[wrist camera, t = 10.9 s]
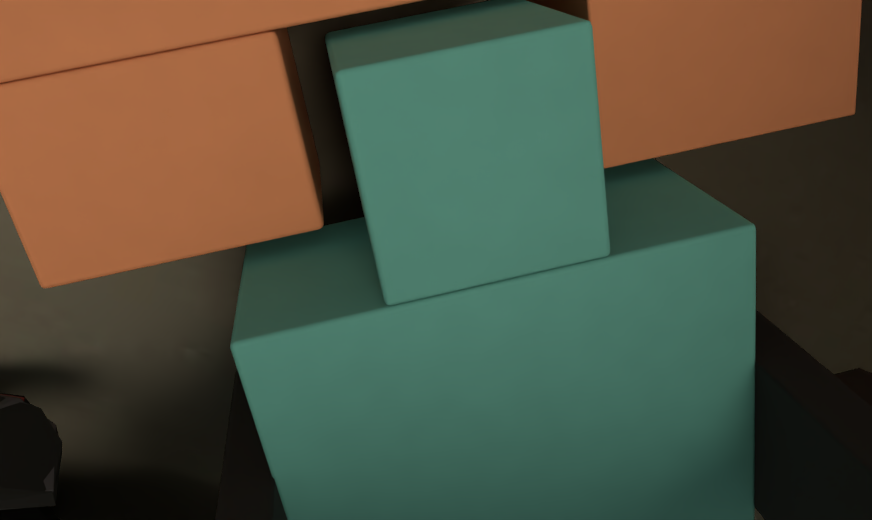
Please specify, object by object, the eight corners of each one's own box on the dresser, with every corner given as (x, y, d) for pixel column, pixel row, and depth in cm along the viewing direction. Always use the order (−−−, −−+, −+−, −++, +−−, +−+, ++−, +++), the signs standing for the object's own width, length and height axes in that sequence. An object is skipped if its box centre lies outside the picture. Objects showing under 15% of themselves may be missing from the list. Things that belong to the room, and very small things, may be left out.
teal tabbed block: (639, -30, 12) (760, -15, 9) (666, 471, 16) (755, 603, 13) (190, 59, 12) (150, 108, 8) (338, 554, 16) (347, 713, 12)
